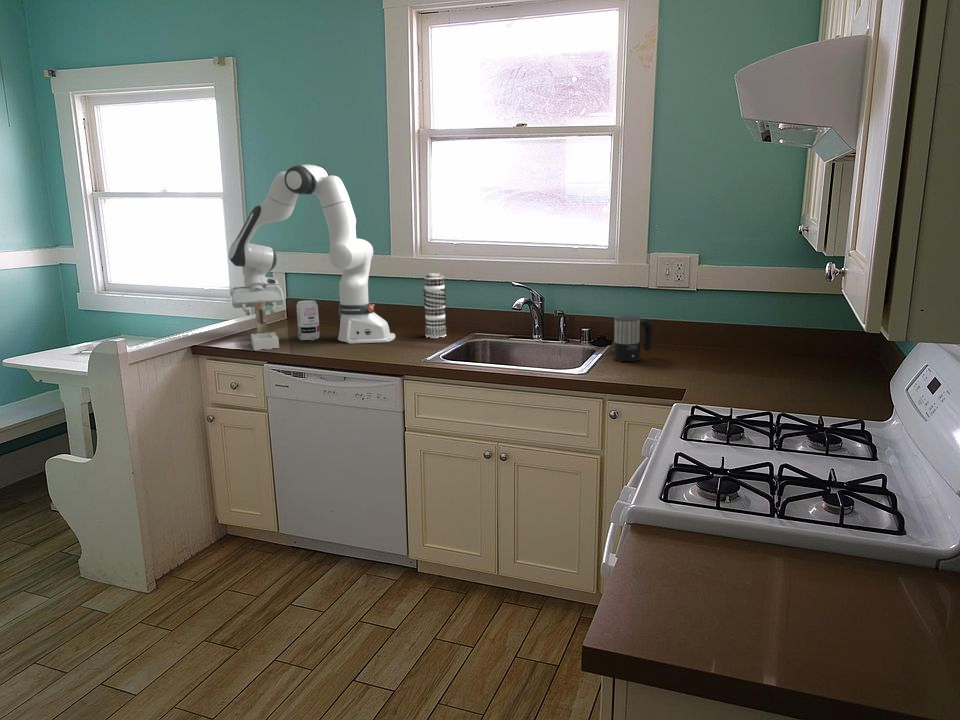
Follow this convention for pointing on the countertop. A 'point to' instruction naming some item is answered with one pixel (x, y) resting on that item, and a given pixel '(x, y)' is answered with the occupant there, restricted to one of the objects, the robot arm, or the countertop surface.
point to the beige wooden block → (260, 317)
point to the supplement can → (308, 320)
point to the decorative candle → (434, 305)
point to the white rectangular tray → (264, 341)
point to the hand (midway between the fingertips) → (260, 313)
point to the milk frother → (630, 337)
